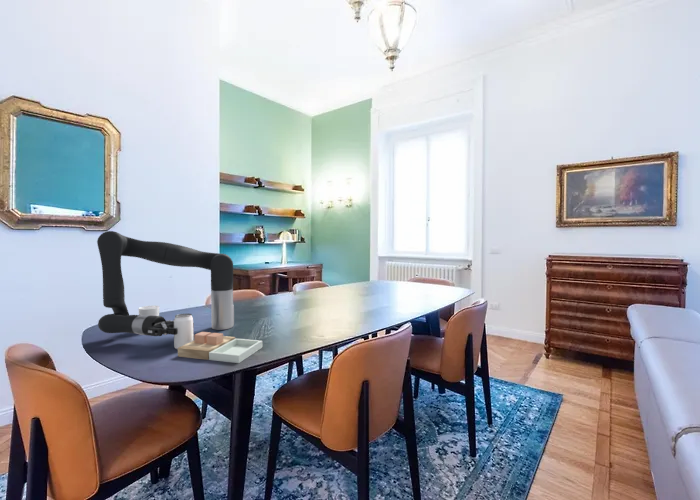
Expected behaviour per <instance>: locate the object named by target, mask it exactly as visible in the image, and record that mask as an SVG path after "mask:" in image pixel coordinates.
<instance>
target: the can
mask: <svg viewBox="0 0 700 500" xmlns="http://www.w3.org/2000/svg"><path fill="white" fill-rule="evenodd" d="M173 321H174V328H177V332H178V333H177V334H176V335H173V346H174V347H173V348H174V349H175V350H178V348H179V347H181V346H183V345H185V344H188V343H190V342H192V341H194V328H193V323H194V318H193V316H192V313H187V312H186V313H180V314H175V315H174V318H173Z"/></svg>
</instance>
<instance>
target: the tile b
mask: <svg viewBox="0 0 700 500" xmlns="http://www.w3.org/2000/svg"><path fill="white" fill-rule="evenodd" d="M223 336H224V333H223V332H222V333H221V332H211V334H210V335H207V344H210V345H218V344H220V343H222V342H223Z"/></svg>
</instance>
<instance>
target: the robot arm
mask: <svg viewBox="0 0 700 500" xmlns="http://www.w3.org/2000/svg"><path fill="white" fill-rule="evenodd" d="M96 243H97V248H98V253H99V257H100V263H101V269H102V272H101V273H102V303H103V307H105V308H108V309H111V310H112V312H113V313H108V314H104V315H102V316H101V317H100V318H99V319H98V322H97V326H98V329H99V330H100V331H101V332H102V333H106V334H122V333H123V334H124V333H127V334H135V335H141V336H148V337H149V336H151V337H163V335H164V336H167V335H173V336H174V335H176V334H177V333H178V332H177V328H174V320H171V319H168V320H166V318H164V316H161V315H159V316H152V315H139V314H130V313H129V310H128V306H127V305H126V301H125V299H126V298H125V282H124V278H123V273H122V272H123V271H122V257H131V258H137V259H142V260H145V261H148V262H153V263H157V264H160V265H161V264H162V265H167V266H171V267H172V266H173V267H179V268H180V267H181V268H182V267H184V268H185V267H186V268H200V269H204V270H208V271H210V299H211V300H210V303H211V305H210V307H211V308H210V309H211V311H210V313H211V315H210V317H211V323H210V324H211V329H212V330H217V331H221V330H229V329H232V328H234V325H235V305H234V261H233V260H232V258H231V257H230V256H229V255H228V254H226V253H218V252H217V253H216V252H208V251H207V252H206V251H201V250H197V249H194V248H191V247H187V246H184V245H181V244H180V245H179V244H175V243H170V242H164V241H153V240H152V241H146V240H141V239H136V238H132V237H128V236H125V235H123V234H121V233H119V232H117V231H113V230H109V231H108V230H107V231H104V232H102V233H101V234H100V235H99V236H98V238H97V241H96ZM194 325H195V322H193V329H194V327H195V326H194Z"/></svg>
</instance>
